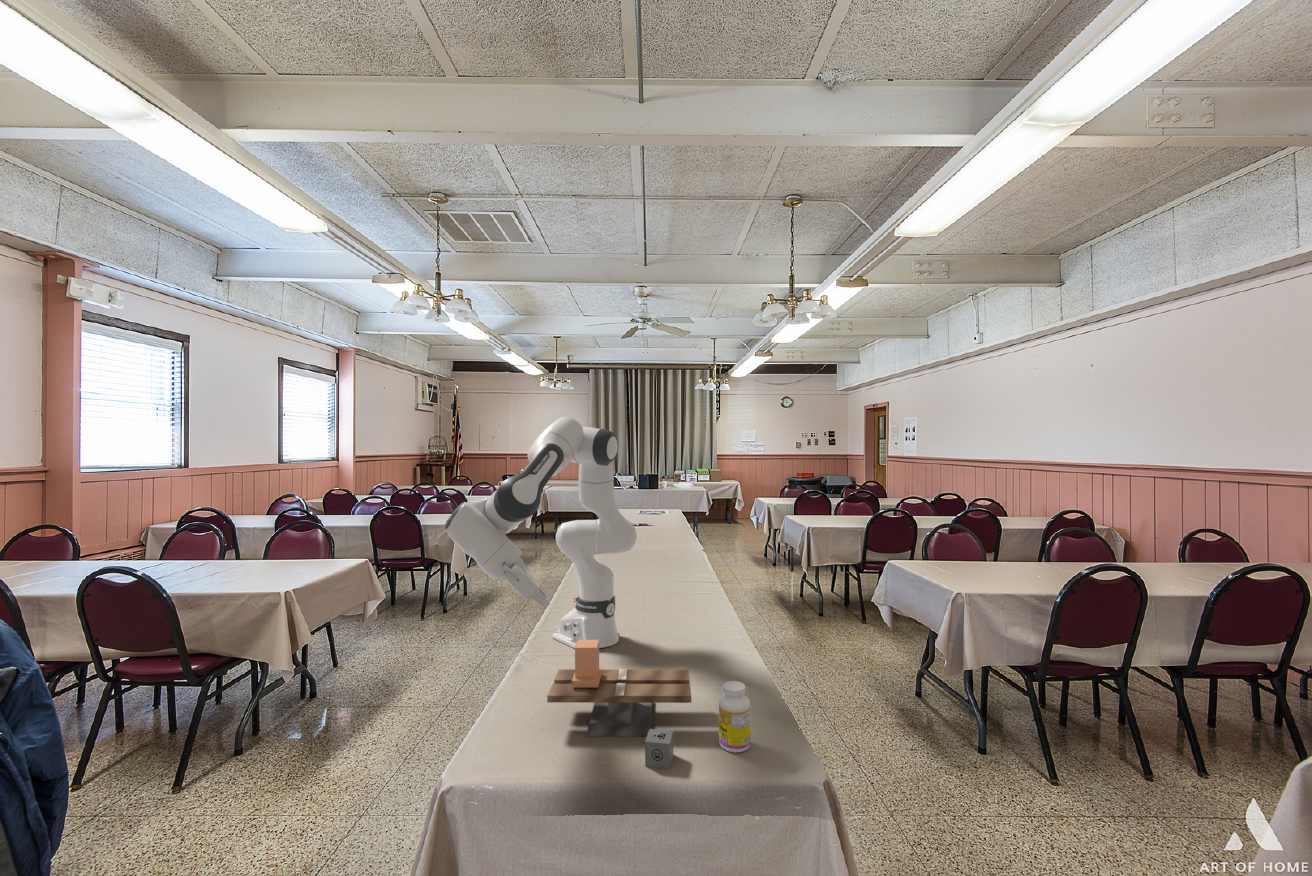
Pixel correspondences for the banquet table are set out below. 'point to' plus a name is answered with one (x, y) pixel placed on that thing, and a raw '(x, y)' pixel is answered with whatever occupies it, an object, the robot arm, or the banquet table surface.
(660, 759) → the dice cube
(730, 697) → the supplement bottle
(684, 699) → the balance beam
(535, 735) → the banquet table surface
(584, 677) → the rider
